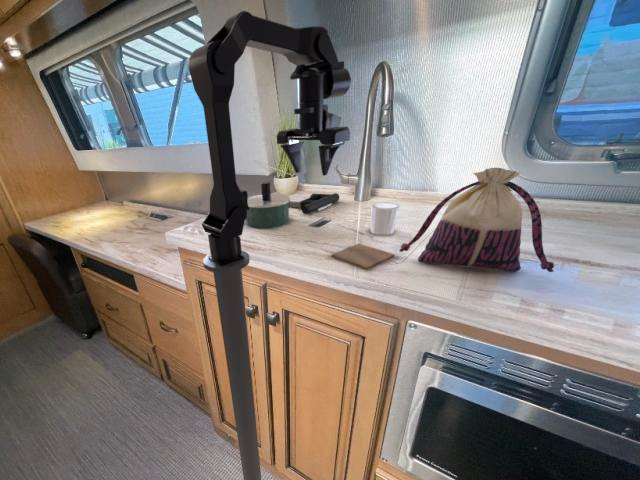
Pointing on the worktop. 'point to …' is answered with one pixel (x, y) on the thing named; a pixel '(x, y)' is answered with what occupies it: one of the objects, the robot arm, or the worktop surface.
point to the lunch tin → (268, 216)
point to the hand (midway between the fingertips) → (310, 173)
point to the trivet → (363, 256)
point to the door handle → (315, 202)
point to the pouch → (483, 226)
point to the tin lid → (267, 198)
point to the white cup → (384, 218)
